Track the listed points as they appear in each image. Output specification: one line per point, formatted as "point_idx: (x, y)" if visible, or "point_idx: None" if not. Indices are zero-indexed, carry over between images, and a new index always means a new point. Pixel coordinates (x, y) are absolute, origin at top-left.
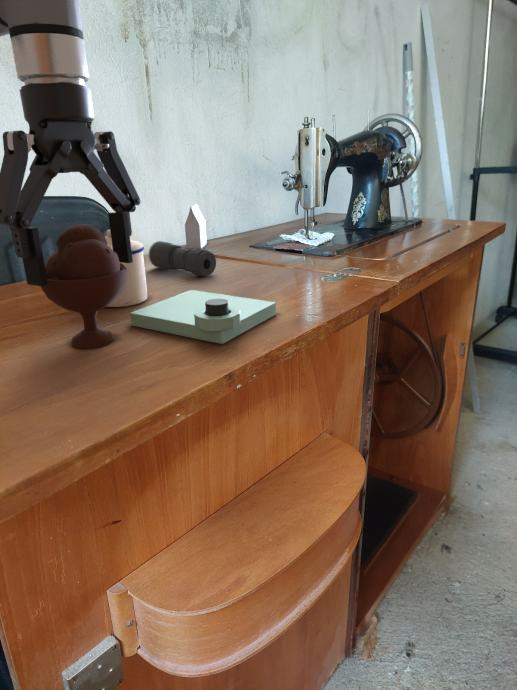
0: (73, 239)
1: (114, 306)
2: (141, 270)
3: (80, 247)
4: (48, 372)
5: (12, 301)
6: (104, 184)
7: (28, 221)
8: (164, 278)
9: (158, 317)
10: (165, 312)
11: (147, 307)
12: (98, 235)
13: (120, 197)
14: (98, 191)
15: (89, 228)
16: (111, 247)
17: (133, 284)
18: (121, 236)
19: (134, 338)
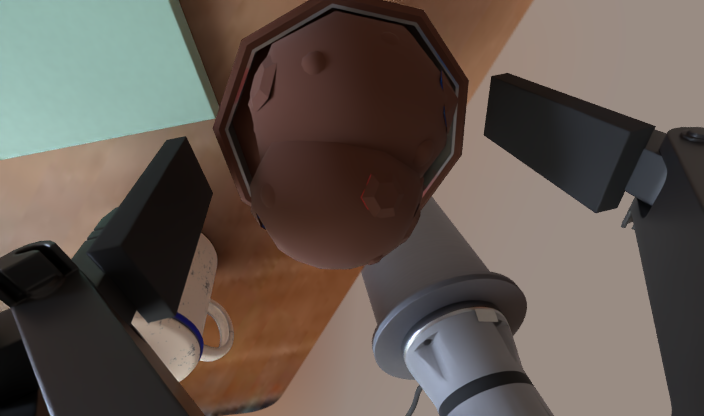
0: (405, 172)
1: None
2: None
3: (420, 98)
4: (460, 8)
5: (308, 339)
6: (183, 405)
7: (687, 141)
8: None
9: (171, 22)
10: (134, 43)
11: (159, 120)
12: (309, 160)
13: (73, 328)
14: (201, 411)
15: (338, 194)
16: (144, 332)
17: None
18: (170, 200)
19: (255, 27)
